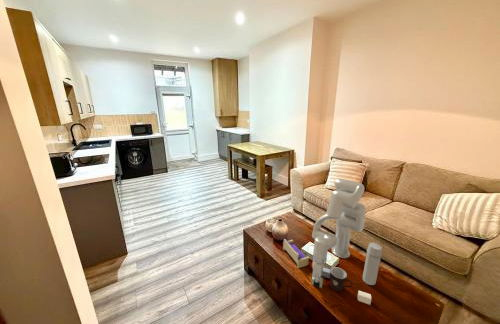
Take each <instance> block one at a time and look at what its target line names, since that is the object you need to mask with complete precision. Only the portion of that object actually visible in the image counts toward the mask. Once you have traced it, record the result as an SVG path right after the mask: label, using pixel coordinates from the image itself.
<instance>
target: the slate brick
mask: <svg viewBox="0 0 500 324" xmlns="http://www.w3.org/2000/svg"><path fill="white" fill-rule="evenodd" d="M321 277H323V278H328V279H330V278H331V268H330V269H329V268H326V267H324V266H323V272H322V276H321Z"/></svg>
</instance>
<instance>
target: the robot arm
mask: <svg viewBox="0 0 500 324" xmlns="http://www.w3.org/2000/svg"><path fill="white" fill-rule="evenodd" d="M334 187H335V190H333V191H331V192H332V193H331V195H330V199H329V202H328V205H327V207H326V212H325V213H324V214H322V215H321V216H319V217H318V219H317V220H316V221H315V223H314V226H313V229H312V233H311V238H312V239H313V240H314V242H313V253H312V260H313V261H314V266H313V268H312V274H311V275H312V276H311V278H312V277H315V280H314V285H313V287H316V288H320V287H319V285H320V281H319V280H320V279H321V278H322V277H323V276H322V272H323V267H324V265H325V264H326V263H327V259H328V250H330V249H331V252H332V254H333V255H335V257H337V256H338V258H340V259H341V258H342V259H348V258H350V256H351V252H350V251H349V247H350V241H351V230H352V231H354V232H358V233H359V232H362V231H363V229H364V226H365V220H366V211H367V210H366V206H365V205H364V204H363V203H360V200H361V198H362V196H363V195H364V192H365V185H364V184H363V183H360V182H358V181H357V182H356V181H352V180H349V179H343V178H337V179H335V181H334ZM328 220H329V221H330V220H336V229H335V234H333V233H330V232H328V231H326V230H323V229H321V226H322V224H323V223H324V222H326V221H328ZM318 279H319V280H318Z"/></svg>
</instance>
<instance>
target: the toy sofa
mask: <svg viewBox="0 0 500 324" xmlns="http://www.w3.org/2000/svg"><path fill="white" fill-rule="evenodd" d="M282 244H283V245H282V250H283V251H286V252H287V253H288V255H289V256H290V257H291V258H292V259H293V261H294V262H295V263H296V267H297V269H300V268H303V267H306V266H308V265H309V262H310V261H309V259H310V256H306V255H305V254H304V253H303V252H302V251H301V250H300V249H299V248H298V247H297V245H295V244H294V239H291V240H290V239H289V240H287V239H286V238H284V239H283V242H282Z"/></svg>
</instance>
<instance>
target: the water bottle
mask: <svg viewBox="0 0 500 324" xmlns="http://www.w3.org/2000/svg"><path fill="white" fill-rule="evenodd" d="M382 253H383V247H382V246H381V244H379V243H376V242H370V243H368V246H367V249H366V256H365V261H364V262H365V263H364V269H363V273H362V281H363V282H364V284H366V285H368V286H369V285H370V286H374V285H376V284H377V283H376V282H377V279H378V273H379V267H380V265H381V264H380V263H381V258H382V257H383V254H382Z"/></svg>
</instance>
